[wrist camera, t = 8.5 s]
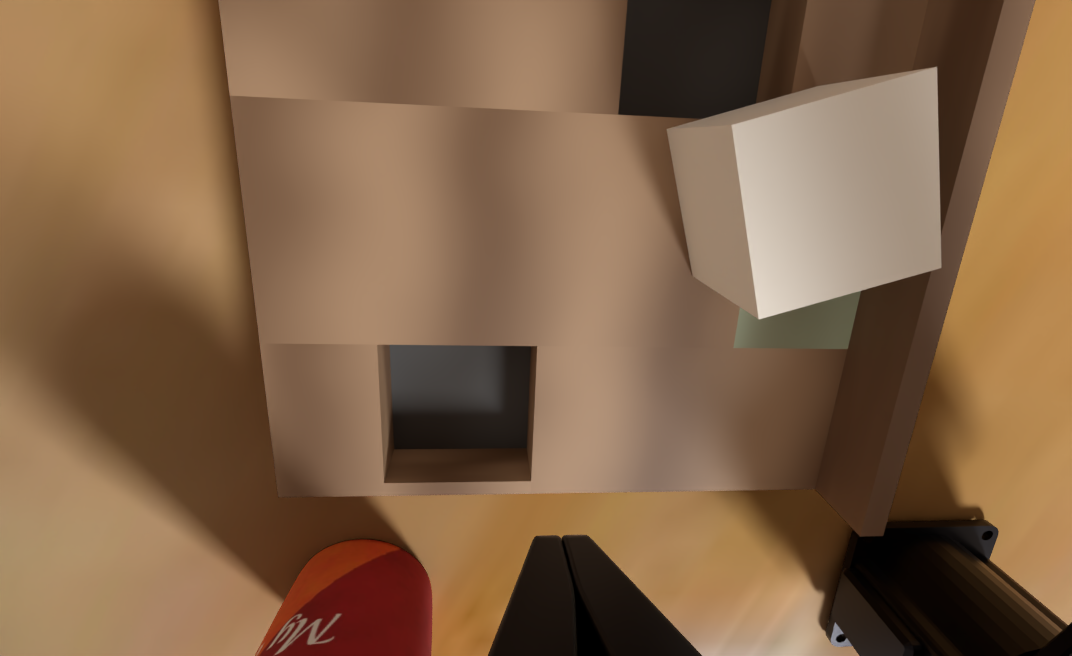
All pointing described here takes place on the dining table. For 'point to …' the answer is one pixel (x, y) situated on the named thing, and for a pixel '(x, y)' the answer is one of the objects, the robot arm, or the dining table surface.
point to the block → (813, 192)
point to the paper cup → (355, 605)
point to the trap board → (573, 244)
